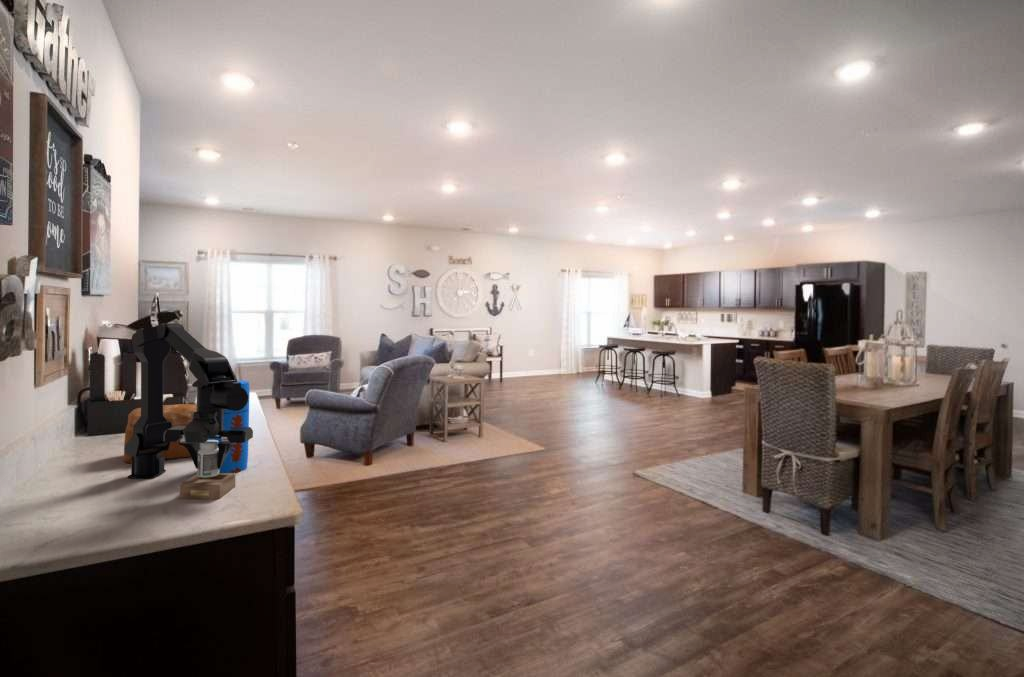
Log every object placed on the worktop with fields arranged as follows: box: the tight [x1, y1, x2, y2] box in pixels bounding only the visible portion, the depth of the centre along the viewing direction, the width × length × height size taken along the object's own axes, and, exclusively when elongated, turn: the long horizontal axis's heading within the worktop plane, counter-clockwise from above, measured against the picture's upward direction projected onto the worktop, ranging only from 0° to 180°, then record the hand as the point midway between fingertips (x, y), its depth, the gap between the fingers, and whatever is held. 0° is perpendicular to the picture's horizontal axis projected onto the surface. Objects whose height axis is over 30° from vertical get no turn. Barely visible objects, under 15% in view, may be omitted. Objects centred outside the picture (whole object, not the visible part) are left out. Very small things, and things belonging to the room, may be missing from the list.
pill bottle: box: [196, 440, 219, 478], centre depth 128 cm, size 5×5×8 cm
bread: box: [123, 403, 197, 464], centre depth 160 cm, size 14×26×16 cm, turn 127°
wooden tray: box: [179, 473, 237, 500], centre depth 128 cm, size 9×9×4 cm
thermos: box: [208, 379, 251, 474], centre depth 147 cm, size 11×11×25 cm
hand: (208, 468), depth 128 cm, fingers closed on pill bottle, 5 cm apart
